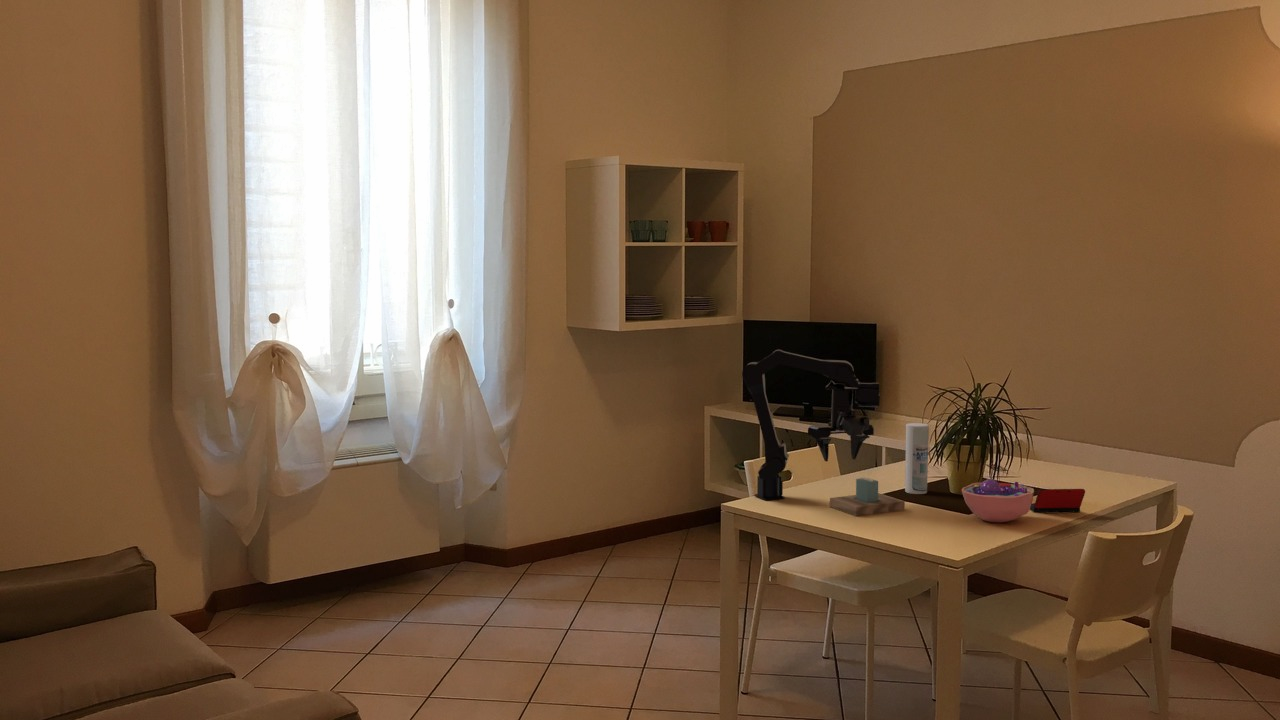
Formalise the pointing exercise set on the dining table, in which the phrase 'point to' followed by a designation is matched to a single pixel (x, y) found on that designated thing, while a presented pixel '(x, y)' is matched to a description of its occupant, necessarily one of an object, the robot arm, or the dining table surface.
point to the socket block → (867, 505)
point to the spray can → (916, 458)
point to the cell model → (998, 500)
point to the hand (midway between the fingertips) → (840, 460)
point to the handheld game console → (1058, 501)
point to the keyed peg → (866, 490)
